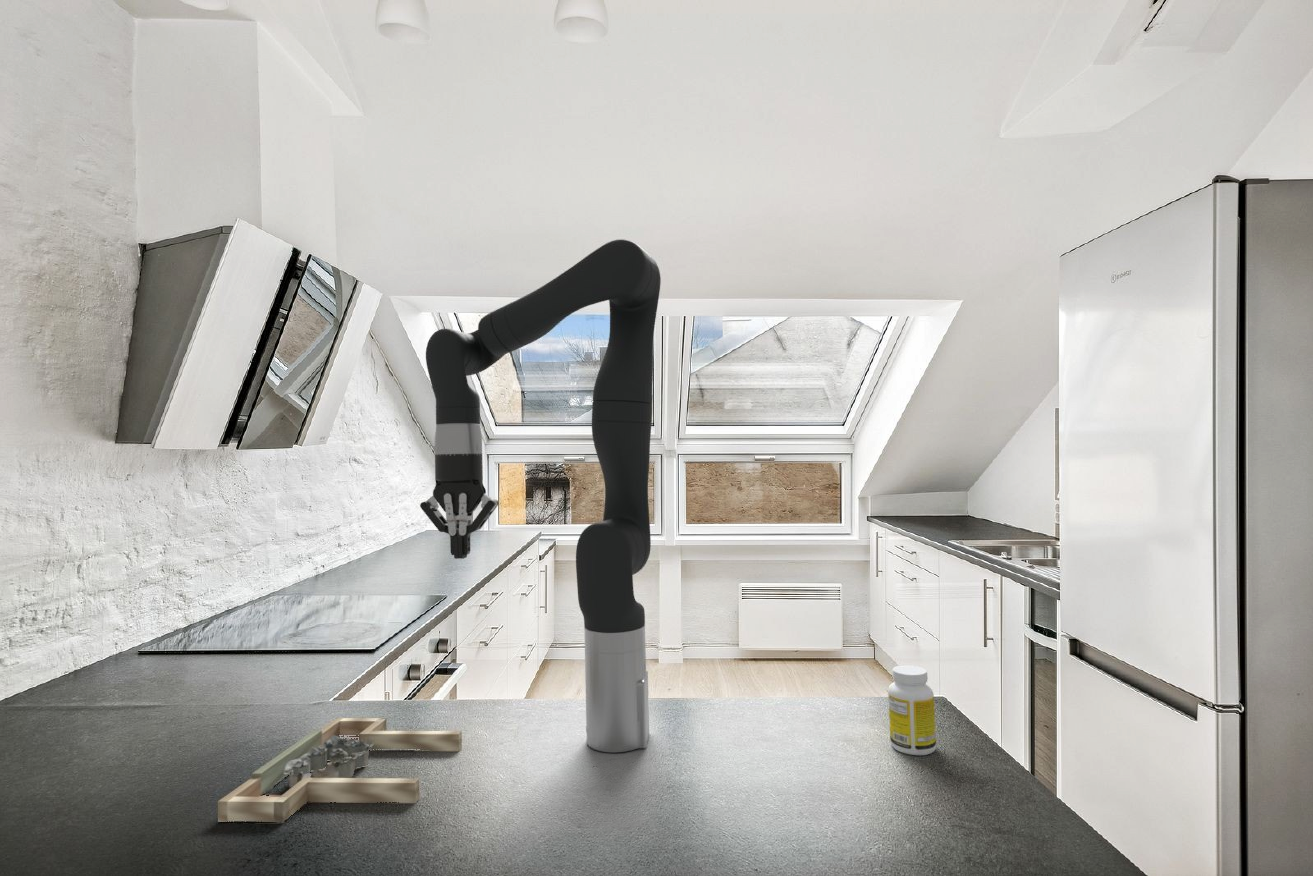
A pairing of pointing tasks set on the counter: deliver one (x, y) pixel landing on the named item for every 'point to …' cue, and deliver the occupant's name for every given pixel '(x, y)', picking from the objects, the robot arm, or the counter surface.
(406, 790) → the box
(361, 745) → the egg carton
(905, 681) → the pill bottle
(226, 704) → the counter surface
